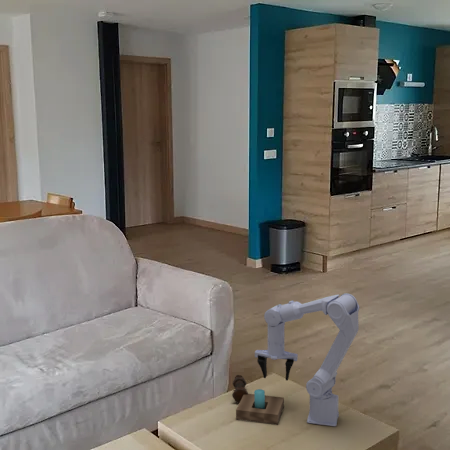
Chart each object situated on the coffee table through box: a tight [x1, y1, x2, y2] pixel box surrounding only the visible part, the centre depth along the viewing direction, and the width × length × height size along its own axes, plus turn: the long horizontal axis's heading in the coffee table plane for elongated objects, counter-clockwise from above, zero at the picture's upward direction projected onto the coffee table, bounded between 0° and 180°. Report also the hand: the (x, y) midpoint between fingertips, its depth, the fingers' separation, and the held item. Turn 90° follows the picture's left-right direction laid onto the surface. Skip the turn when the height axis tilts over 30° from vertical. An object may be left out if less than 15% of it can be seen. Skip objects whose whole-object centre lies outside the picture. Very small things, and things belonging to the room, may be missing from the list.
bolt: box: [231, 374, 249, 404], centre depth 214 cm, size 6×5×15 cm
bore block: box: [235, 393, 285, 425], centre depth 200 cm, size 14×12×4 cm
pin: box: [253, 388, 266, 409], centre depth 199 cm, size 3×3×8 cm
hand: (276, 378), depth 204 cm, fingers open, 7 cm apart
